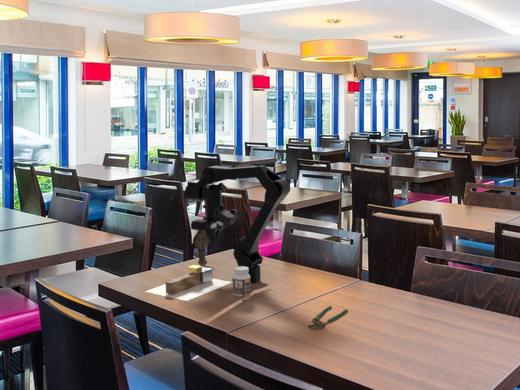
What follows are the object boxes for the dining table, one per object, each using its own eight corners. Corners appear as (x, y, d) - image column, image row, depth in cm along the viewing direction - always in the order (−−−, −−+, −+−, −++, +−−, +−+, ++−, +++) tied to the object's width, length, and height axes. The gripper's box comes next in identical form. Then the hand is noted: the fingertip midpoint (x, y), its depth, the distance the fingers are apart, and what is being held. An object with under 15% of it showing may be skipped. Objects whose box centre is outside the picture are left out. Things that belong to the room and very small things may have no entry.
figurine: (197, 268, 233) (195, 221, 230) (189, 265, 236) (188, 219, 234) (213, 264, 237) (212, 219, 235) (205, 262, 241) (204, 217, 238)
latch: (193, 270, 209) (193, 264, 209) (202, 271, 207) (201, 266, 207) (188, 272, 207) (188, 266, 206) (196, 273, 205) (196, 268, 204)
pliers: (329, 308, 187) (329, 304, 187) (349, 312, 183) (349, 307, 183) (299, 328, 170) (299, 323, 170) (321, 332, 167) (321, 327, 167)
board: (232, 285, 210) (232, 282, 210) (186, 304, 190) (186, 300, 190) (192, 277, 220) (192, 274, 220) (144, 294, 200) (144, 291, 200)
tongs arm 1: (193, 282, 209) (193, 272, 208) (196, 282, 208) (196, 272, 208) (165, 292, 197) (165, 282, 197) (168, 293, 197) (168, 282, 196)
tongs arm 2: (196, 283, 208) (196, 272, 208) (199, 283, 207) (199, 273, 207) (168, 293, 197) (168, 282, 196) (171, 294, 196) (171, 283, 195)
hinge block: (202, 279, 214) (202, 266, 214) (212, 281, 212) (212, 268, 211) (193, 282, 210) (192, 270, 209) (203, 284, 208) (202, 271, 207)
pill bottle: (248, 301, 193) (248, 270, 191) (230, 300, 194) (230, 269, 192) (252, 296, 198) (252, 266, 197) (235, 295, 199) (234, 265, 198)
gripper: (215, 207, 202) (216, 254, 204) (247, 200, 217) (248, 243, 220) (189, 205, 208) (190, 249, 210) (222, 197, 224) (223, 239, 226)
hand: (214, 245), depth 216 cm, fingers closed
